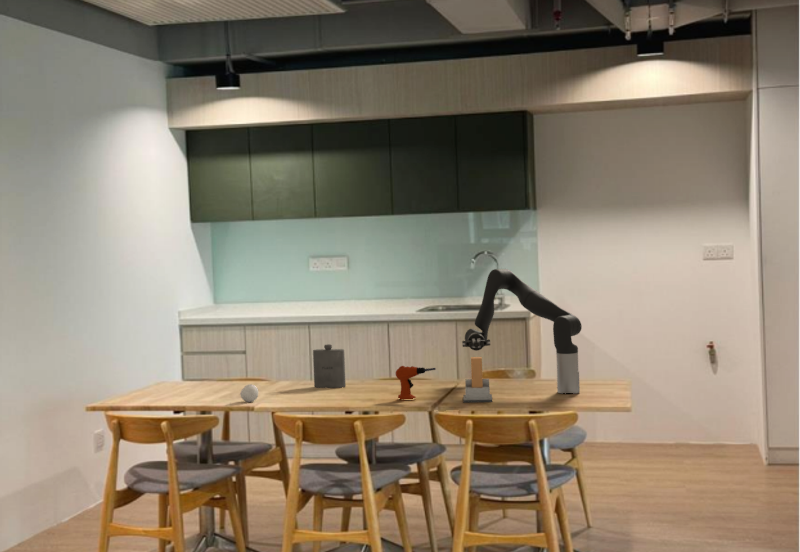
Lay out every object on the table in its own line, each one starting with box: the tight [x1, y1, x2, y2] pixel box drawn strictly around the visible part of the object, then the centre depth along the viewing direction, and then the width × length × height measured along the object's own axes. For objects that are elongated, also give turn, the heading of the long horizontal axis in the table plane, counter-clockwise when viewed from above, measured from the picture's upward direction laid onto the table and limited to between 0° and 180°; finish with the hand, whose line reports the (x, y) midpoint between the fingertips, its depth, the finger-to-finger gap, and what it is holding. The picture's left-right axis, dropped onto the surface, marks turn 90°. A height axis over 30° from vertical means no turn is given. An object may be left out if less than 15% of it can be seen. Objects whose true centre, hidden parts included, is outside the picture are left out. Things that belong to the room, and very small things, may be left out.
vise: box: [462, 386, 493, 404], centre depth 449 cm, size 12×14×6 cm
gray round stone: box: [239, 383, 259, 403], centre depth 464 cm, size 8×8×8 cm
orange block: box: [470, 356, 483, 387], centre depth 447 cm, size 4×4×17 cm
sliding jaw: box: [465, 378, 490, 388], centre depth 451 cm, size 10×3×7 cm, turn 86°
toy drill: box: [395, 365, 437, 399], centre depth 454 cm, size 5×19×15 cm, turn 70°
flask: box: [312, 343, 346, 389], centre depth 499 cm, size 15×6×20 cm, turn 78°
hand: (476, 345), depth 462 cm, fingers closed
